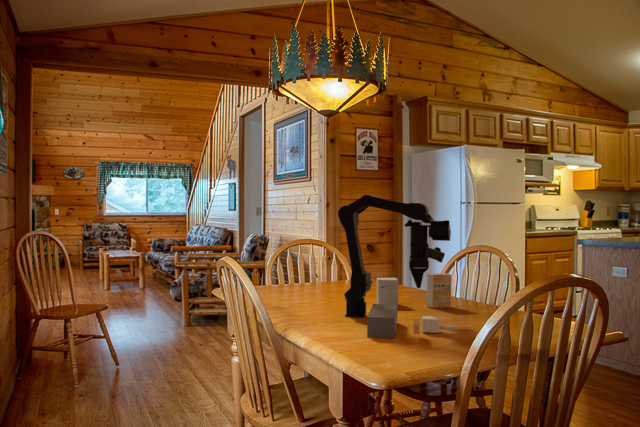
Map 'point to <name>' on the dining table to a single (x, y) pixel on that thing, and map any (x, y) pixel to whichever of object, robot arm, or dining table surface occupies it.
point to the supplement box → (439, 290)
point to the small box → (387, 291)
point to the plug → (434, 325)
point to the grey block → (382, 321)
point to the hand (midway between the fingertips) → (418, 285)
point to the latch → (416, 326)
